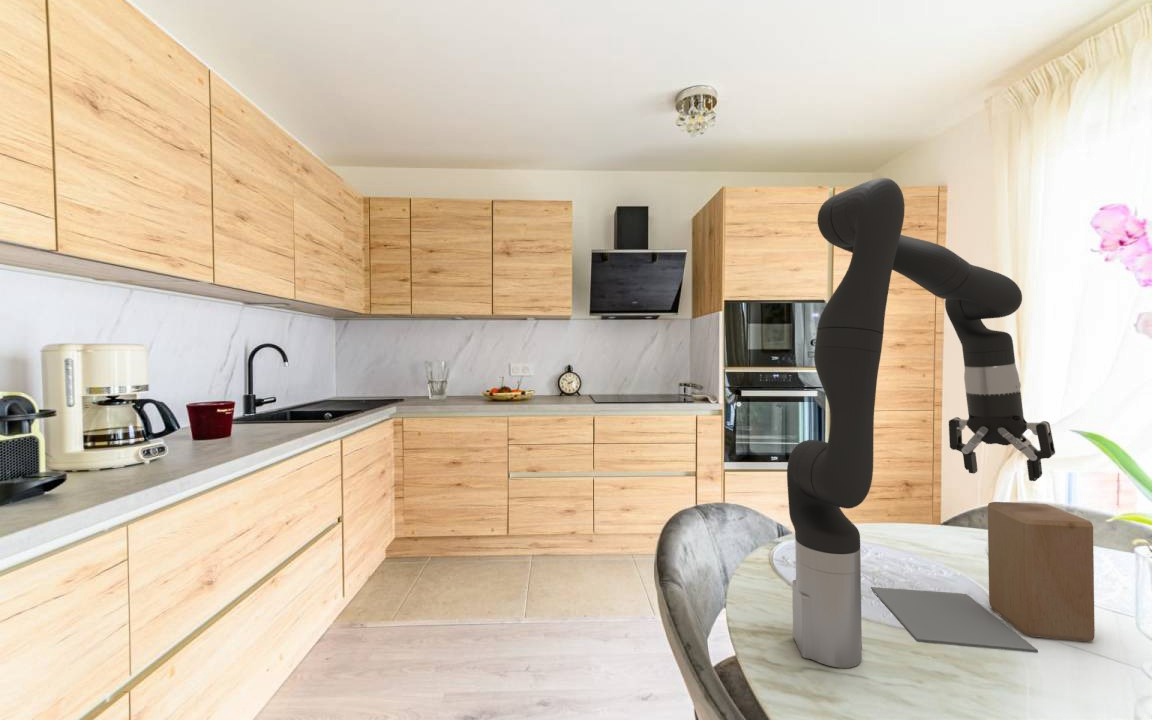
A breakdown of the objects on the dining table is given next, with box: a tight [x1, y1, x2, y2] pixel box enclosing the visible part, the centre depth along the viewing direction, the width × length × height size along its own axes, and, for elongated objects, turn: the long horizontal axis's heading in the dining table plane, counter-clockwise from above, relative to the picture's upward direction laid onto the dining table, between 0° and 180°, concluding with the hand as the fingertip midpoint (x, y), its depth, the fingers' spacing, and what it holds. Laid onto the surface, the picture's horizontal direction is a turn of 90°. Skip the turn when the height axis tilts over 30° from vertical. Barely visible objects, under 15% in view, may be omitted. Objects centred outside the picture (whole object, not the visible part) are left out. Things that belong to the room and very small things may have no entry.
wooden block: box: [987, 501, 1096, 642], centre depth 82 cm, size 10×10×20 cm
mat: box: [870, 586, 1039, 653], centre depth 84 cm, size 17×18×1 cm
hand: (1002, 476), depth 86 cm, fingers open, 8 cm apart
